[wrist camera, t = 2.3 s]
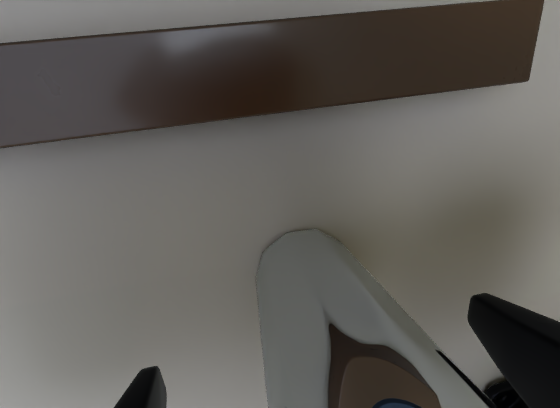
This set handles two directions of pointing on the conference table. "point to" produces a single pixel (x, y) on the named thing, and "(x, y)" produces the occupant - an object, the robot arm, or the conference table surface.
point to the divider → (257, 68)
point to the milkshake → (345, 336)
